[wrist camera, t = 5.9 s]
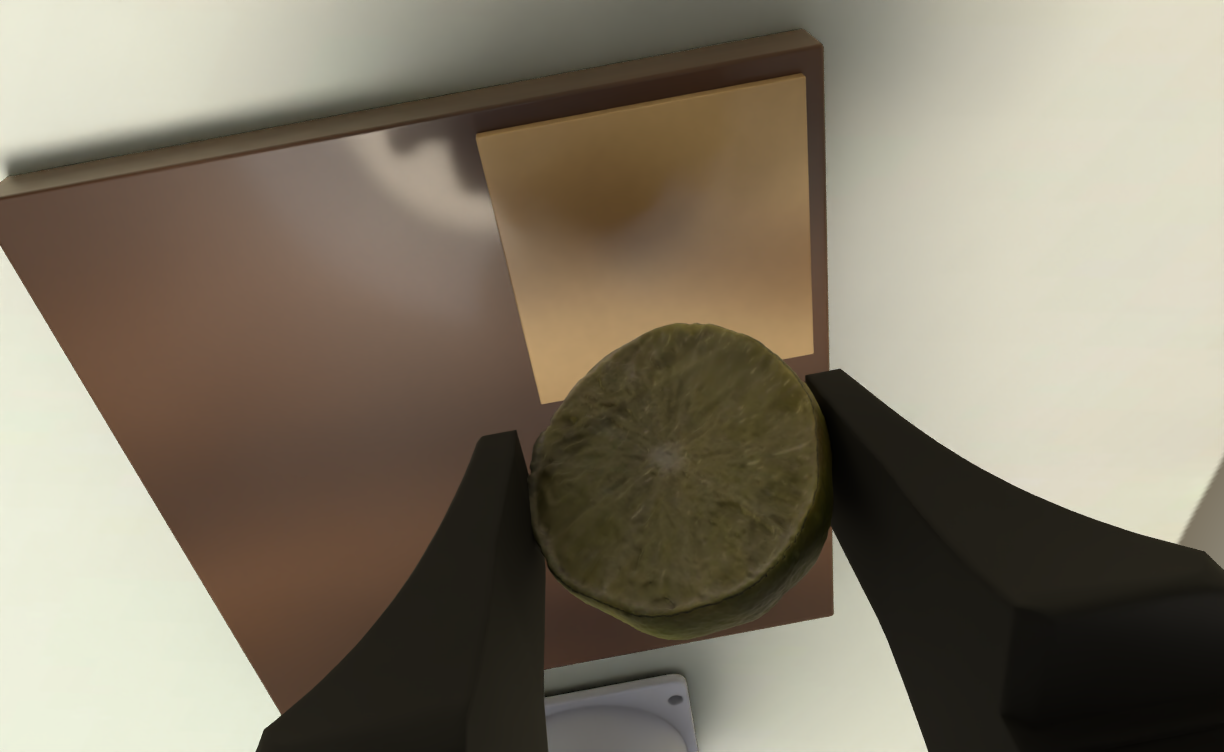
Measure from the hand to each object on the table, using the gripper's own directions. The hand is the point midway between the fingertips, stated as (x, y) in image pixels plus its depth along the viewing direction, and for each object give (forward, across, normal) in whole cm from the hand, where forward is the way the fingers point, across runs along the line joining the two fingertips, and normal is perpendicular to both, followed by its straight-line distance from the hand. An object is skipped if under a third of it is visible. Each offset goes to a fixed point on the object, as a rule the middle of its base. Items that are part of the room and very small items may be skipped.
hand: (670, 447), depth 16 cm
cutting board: (+8, +4, +5) cm, 10 cm away
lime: (+2, 0, 0) cm, 2 cm away
